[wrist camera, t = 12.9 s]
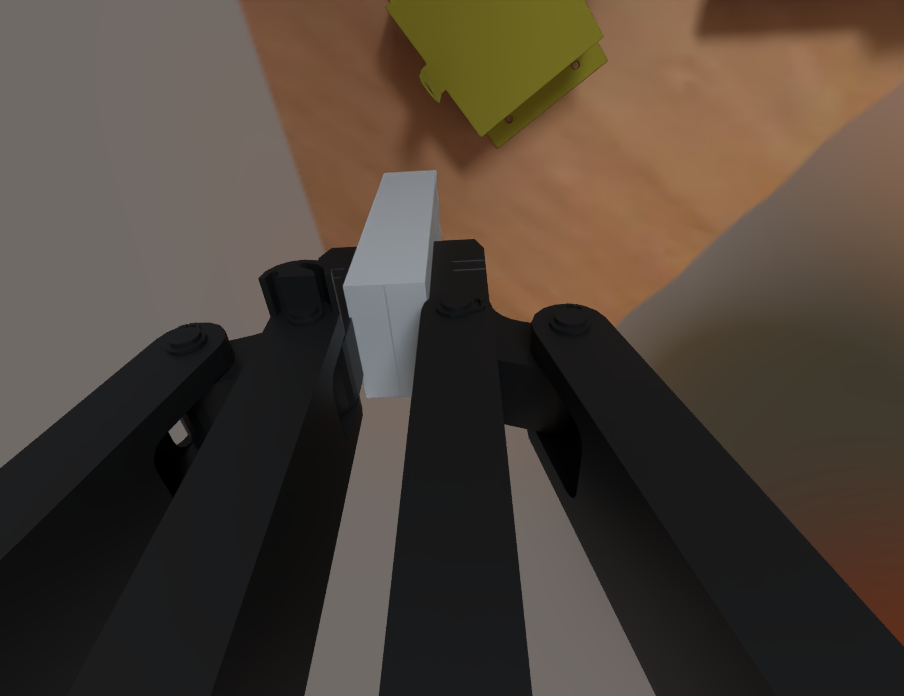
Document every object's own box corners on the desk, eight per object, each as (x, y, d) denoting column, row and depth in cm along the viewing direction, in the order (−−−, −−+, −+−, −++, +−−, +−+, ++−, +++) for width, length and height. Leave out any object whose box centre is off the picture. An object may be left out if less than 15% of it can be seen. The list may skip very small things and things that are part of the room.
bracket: (698, 31, 31) (498, 184, 37) (658, 19, 37) (492, 152, 43) (565, -274, 23) (341, -22, 29) (542, -225, 30) (361, -26, 35)
